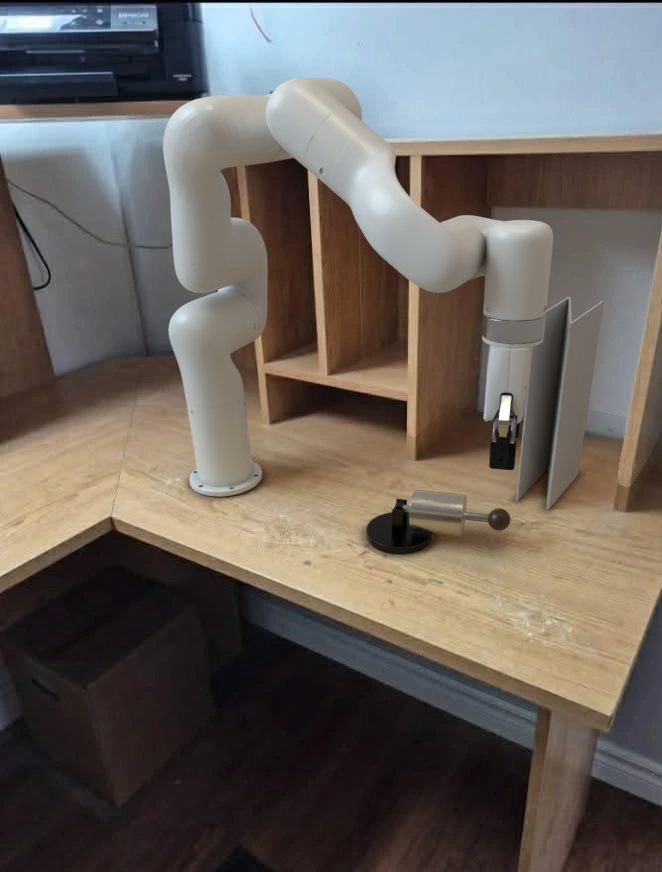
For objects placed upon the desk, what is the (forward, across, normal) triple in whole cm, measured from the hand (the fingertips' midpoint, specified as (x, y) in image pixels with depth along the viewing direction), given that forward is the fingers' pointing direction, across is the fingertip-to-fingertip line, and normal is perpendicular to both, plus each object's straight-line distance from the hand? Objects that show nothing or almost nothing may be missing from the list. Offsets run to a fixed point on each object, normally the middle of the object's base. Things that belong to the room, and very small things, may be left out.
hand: (504, 452), depth 93 cm
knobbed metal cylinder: (+14, 0, -7) cm, 15 cm away
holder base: (+16, 0, -15) cm, 21 cm away
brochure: (+16, -20, +7) cm, 26 cm away
